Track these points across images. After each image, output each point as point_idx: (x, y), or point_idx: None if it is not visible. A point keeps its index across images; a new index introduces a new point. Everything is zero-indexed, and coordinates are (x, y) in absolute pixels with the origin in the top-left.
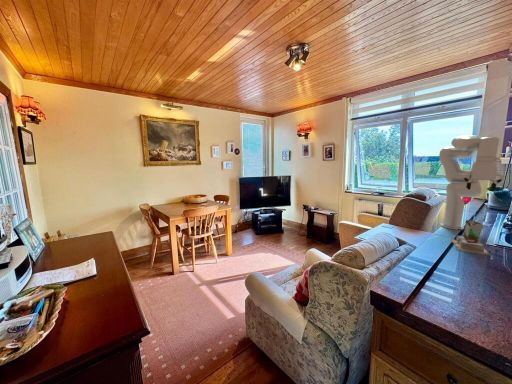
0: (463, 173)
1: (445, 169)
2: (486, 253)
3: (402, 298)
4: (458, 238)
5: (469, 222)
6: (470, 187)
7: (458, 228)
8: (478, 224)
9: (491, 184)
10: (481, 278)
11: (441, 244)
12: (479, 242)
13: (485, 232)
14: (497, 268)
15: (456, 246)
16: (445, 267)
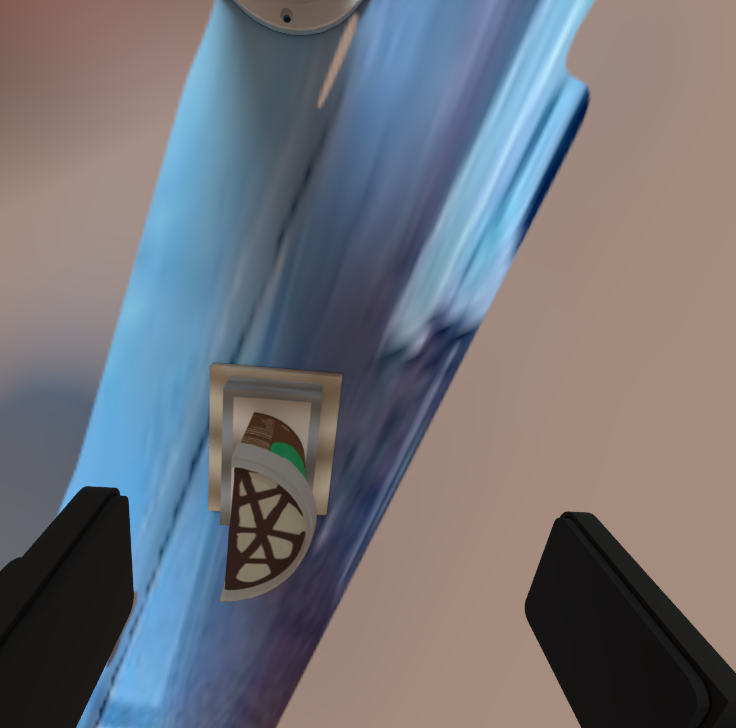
0: None
1: None
2: (318, 513)
3: None
4: (223, 436)
5: (248, 489)
6: (104, 665)
7: (322, 27)
8: (294, 516)
9: (668, 677)
10: (227, 708)
11: (149, 456)
12: (309, 473)
13: (507, 19)
14: (304, 620)
15: (209, 486)
16: (135, 689)
